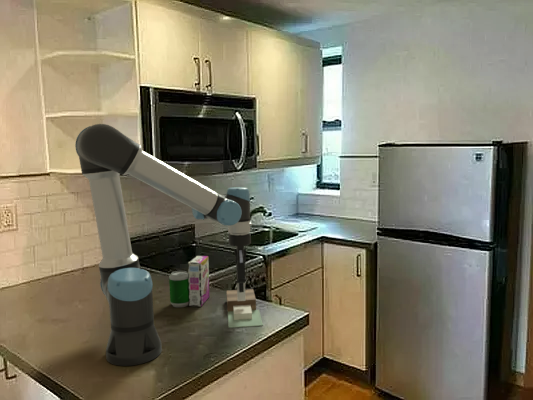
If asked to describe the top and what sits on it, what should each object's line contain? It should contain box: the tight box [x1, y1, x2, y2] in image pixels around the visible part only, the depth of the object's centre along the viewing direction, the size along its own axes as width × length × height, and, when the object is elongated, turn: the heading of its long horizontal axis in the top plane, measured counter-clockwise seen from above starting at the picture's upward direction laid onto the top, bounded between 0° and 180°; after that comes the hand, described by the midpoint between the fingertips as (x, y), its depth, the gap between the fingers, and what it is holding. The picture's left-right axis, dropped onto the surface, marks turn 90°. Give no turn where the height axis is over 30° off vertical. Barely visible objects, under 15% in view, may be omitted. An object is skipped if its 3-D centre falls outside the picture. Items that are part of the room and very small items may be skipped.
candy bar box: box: [187, 255, 210, 308], centre depth 171 cm, size 11×5×16 cm, turn 171°
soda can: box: [168, 270, 189, 308], centre depth 168 cm, size 8×8×12 cm
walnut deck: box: [226, 288, 257, 312], centre depth 166 cm, size 12×10×4 cm
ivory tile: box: [233, 305, 252, 320], centre depth 156 cm, size 8×6×2 cm
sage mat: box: [227, 309, 264, 329], centre depth 154 cm, size 14×11×1 cm
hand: (241, 300), depth 158 cm, fingers closed
